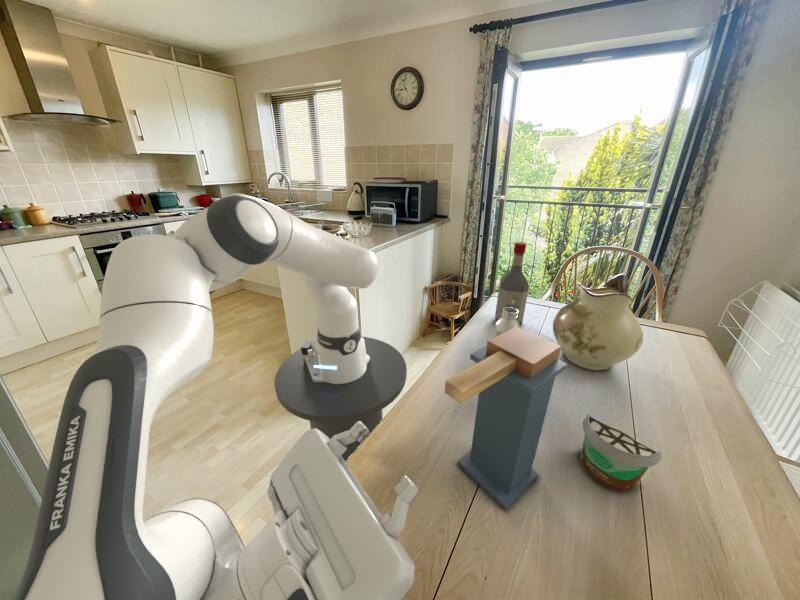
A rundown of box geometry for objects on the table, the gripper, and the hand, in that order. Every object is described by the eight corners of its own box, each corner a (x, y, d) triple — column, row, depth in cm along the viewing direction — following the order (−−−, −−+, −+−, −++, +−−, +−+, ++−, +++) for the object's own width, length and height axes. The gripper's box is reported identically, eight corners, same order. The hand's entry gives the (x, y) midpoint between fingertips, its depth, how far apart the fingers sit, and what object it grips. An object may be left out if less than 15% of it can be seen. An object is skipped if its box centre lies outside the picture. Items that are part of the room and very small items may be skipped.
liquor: (522, 330, 110) (537, 247, 98) (495, 327, 112) (507, 245, 100) (519, 318, 118) (533, 241, 106) (494, 315, 120) (505, 239, 108)
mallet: (431, 382, 44) (432, 368, 43) (514, 338, 55) (516, 326, 54) (476, 416, 38) (478, 400, 37) (558, 359, 49) (561, 345, 48)
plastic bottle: (509, 384, 83) (521, 318, 75) (484, 375, 87) (493, 311, 78) (515, 371, 88) (527, 308, 80) (491, 364, 92) (500, 302, 83)
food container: (562, 463, 61) (573, 425, 57) (575, 446, 65) (587, 410, 61) (635, 512, 53) (654, 472, 49) (645, 490, 56) (665, 451, 52)
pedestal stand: (457, 464, 61) (470, 353, 51) (489, 439, 67) (507, 335, 56) (505, 509, 53) (532, 389, 43) (537, 477, 59) (567, 363, 48)
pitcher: (558, 376, 86) (579, 294, 76) (538, 334, 108) (553, 265, 97) (647, 386, 83) (682, 301, 73) (609, 340, 104) (632, 269, 94)
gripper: (279, 490, 41) (354, 411, 45) (356, 672, 27) (458, 531, 31) (246, 475, 38) (331, 390, 41) (315, 680, 23) (438, 517, 27)
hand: (386, 451), depth 36 cm, fingers open, 8 cm apart
